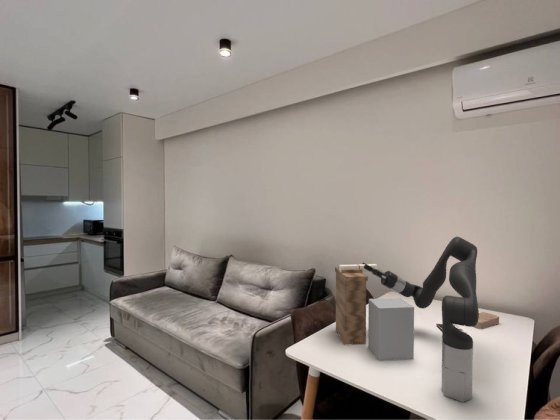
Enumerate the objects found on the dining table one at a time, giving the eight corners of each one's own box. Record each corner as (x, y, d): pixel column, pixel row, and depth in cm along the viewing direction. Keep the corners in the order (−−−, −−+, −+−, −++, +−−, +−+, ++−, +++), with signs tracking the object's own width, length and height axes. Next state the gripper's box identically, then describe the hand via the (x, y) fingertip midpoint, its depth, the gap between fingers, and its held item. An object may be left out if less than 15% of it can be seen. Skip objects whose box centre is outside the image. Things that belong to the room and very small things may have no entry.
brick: (480, 330, 159) (480, 321, 159) (464, 324, 166) (464, 315, 166) (499, 324, 165) (500, 316, 165) (484, 319, 173) (484, 311, 173)
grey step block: (400, 345, 142) (400, 297, 141) (413, 359, 130) (414, 307, 129) (368, 347, 141) (368, 298, 140) (378, 360, 129) (379, 308, 128)
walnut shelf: (353, 327, 162) (353, 263, 161) (367, 345, 142) (367, 273, 141) (334, 328, 161) (334, 264, 160) (346, 346, 141) (346, 273, 140)
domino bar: (375, 270, 153) (375, 263, 153) (377, 271, 150) (377, 265, 150) (339, 271, 151) (339, 264, 151) (340, 272, 148) (340, 266, 148)
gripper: (390, 271, 159) (362, 255, 158) (403, 278, 145) (372, 261, 144) (383, 284, 159) (354, 268, 158) (395, 292, 145) (364, 275, 144)
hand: (363, 265), depth 151 cm, fingers closed on domino bar, 3 cm apart
